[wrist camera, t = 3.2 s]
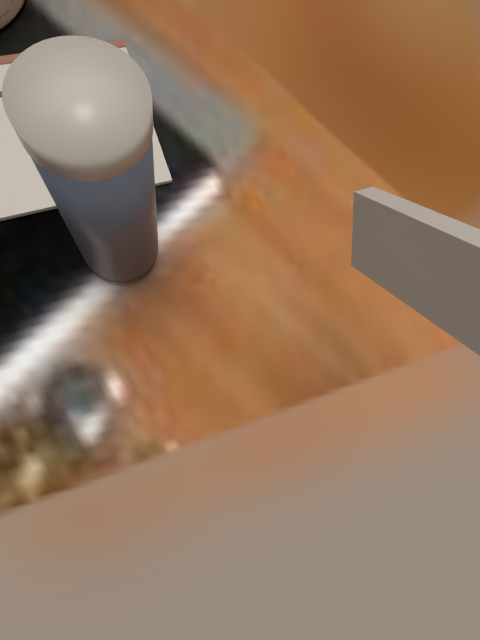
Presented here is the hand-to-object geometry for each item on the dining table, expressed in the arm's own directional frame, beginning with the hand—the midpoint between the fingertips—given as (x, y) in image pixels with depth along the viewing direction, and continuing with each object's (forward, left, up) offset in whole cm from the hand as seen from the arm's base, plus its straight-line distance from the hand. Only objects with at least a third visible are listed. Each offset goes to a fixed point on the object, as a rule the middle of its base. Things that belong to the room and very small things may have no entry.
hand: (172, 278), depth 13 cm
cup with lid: (-1, +5, -10) cm, 12 cm away
